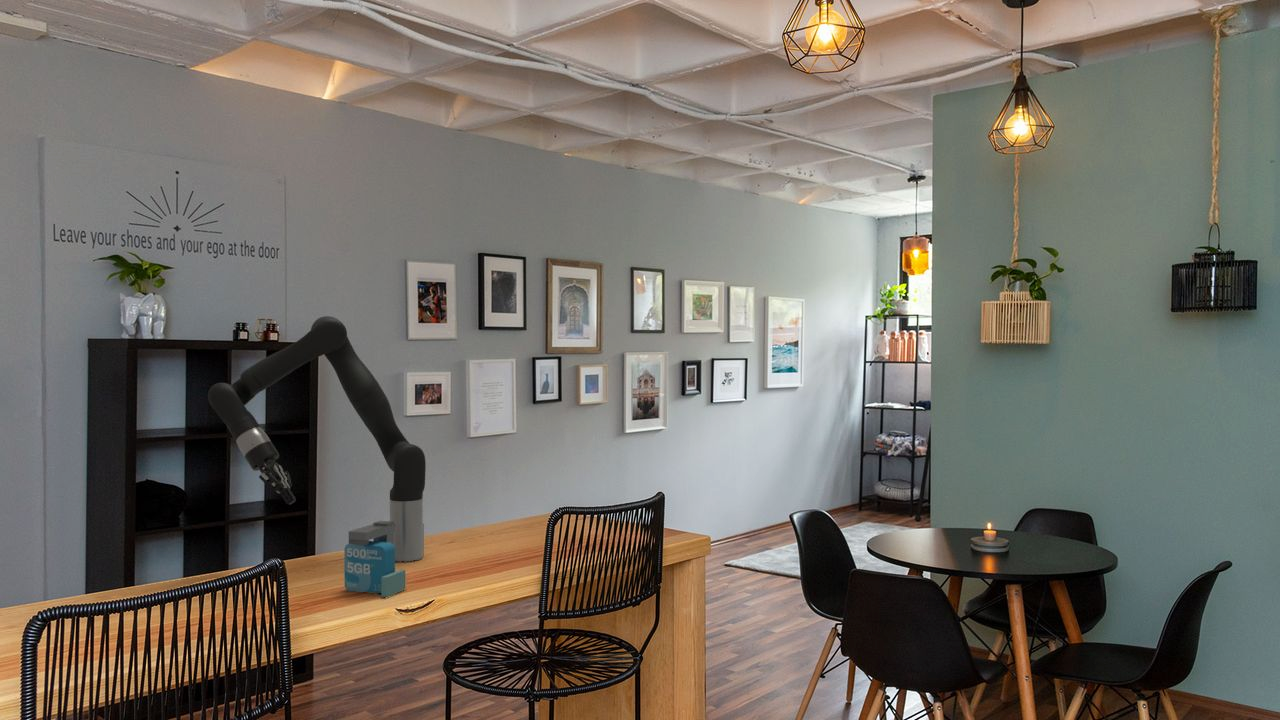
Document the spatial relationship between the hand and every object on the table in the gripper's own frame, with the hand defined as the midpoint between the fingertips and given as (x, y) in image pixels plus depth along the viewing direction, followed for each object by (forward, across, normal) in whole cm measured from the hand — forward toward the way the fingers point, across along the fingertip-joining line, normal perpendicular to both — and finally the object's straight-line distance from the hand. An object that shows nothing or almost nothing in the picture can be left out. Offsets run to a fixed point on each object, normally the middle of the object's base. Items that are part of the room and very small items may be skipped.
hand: (292, 502), depth 244 cm
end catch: (+36, -8, -12) cm, 38 cm away
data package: (+31, -5, -6) cm, 32 cm away
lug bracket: (+31, -2, -7) cm, 32 cm away
